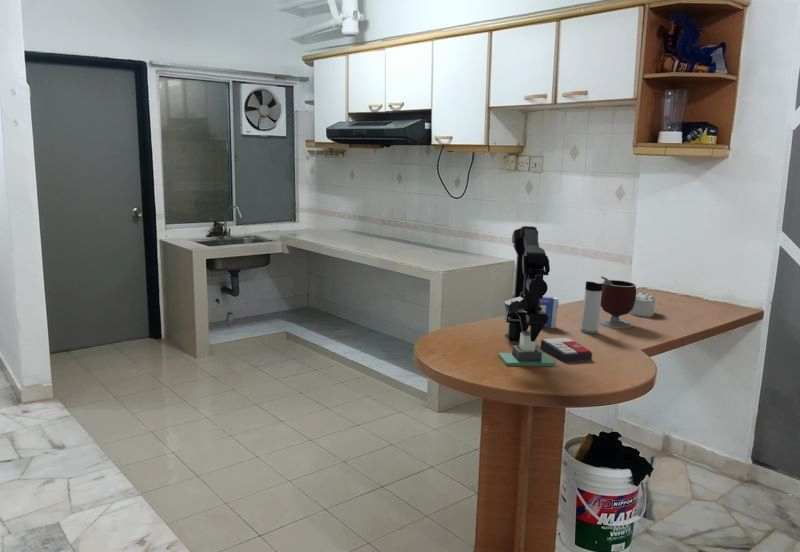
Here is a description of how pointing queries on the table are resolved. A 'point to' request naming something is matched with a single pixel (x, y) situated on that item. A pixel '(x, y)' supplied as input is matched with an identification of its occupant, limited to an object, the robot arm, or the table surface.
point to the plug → (526, 342)
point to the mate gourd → (617, 301)
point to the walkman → (550, 310)
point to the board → (526, 358)
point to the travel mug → (591, 307)
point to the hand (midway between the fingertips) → (528, 337)
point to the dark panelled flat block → (566, 350)
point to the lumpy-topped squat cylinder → (643, 305)
